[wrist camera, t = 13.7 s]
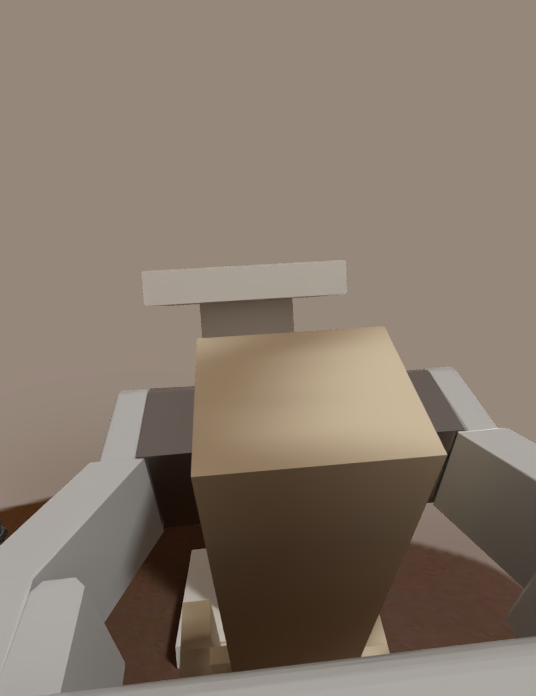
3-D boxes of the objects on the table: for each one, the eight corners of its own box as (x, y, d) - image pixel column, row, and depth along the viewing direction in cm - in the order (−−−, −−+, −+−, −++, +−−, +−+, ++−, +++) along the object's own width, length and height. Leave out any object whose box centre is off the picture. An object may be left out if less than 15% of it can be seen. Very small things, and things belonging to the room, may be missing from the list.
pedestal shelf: (177, 668, 28) (141, 271, 25) (193, 565, 39) (169, 281, 36) (362, 646, 29) (345, 259, 26) (326, 551, 40) (312, 273, 37)
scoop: (7, 493, 5) (80, 309, 7) (198, 758, 17) (200, 653, 20) (606, 440, 5) (475, 286, 8) (373, 735, 18) (352, 636, 20)
